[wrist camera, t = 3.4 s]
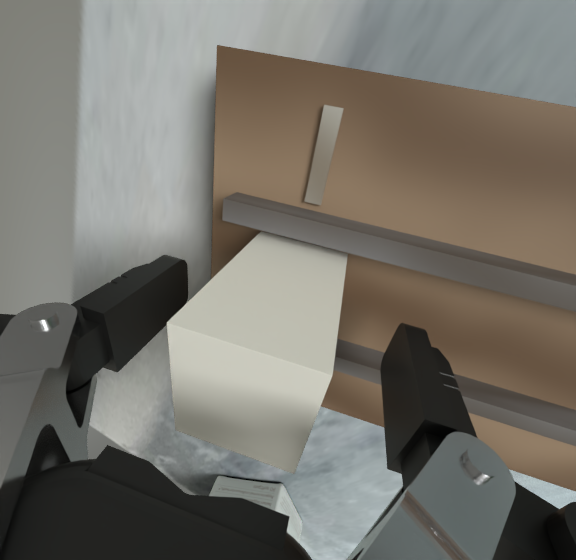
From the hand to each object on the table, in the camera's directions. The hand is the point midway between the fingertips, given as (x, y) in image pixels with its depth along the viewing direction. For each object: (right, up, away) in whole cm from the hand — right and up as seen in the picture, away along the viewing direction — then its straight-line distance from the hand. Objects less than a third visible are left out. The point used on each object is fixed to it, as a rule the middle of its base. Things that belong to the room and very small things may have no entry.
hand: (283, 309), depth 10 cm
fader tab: (0, +1, +2) cm, 2 cm away
